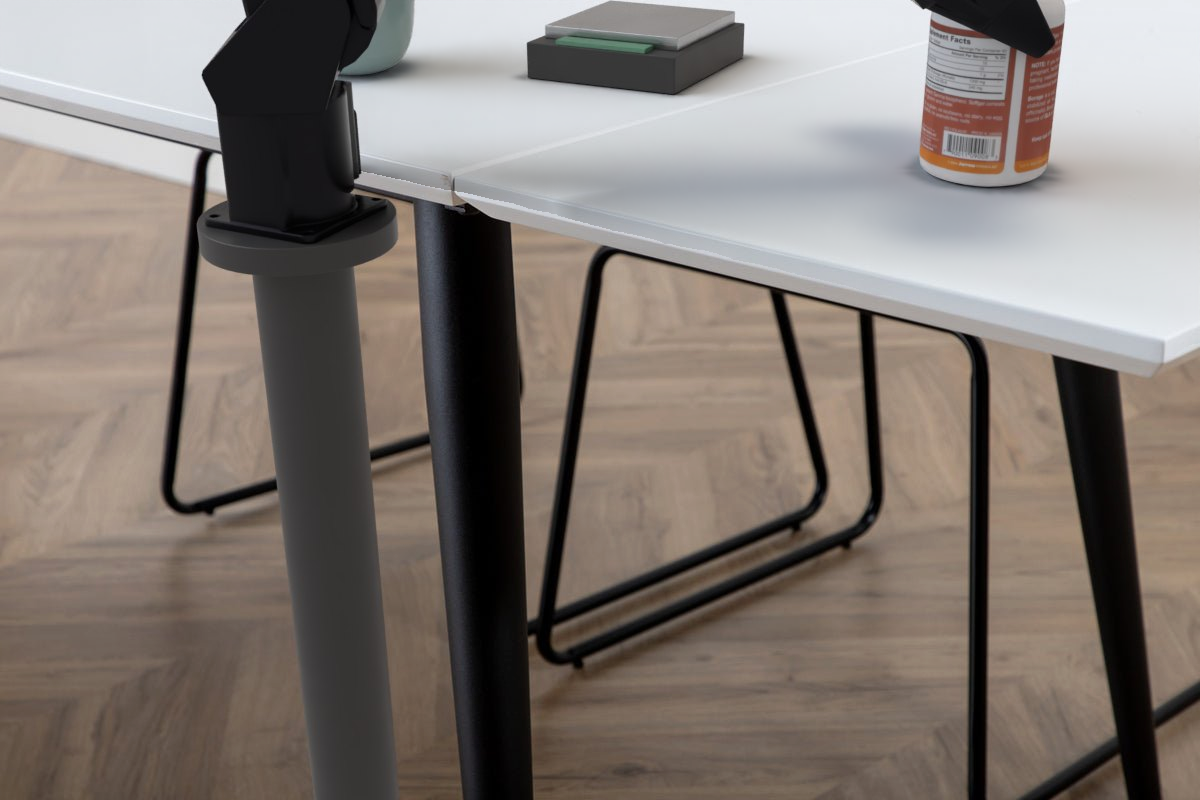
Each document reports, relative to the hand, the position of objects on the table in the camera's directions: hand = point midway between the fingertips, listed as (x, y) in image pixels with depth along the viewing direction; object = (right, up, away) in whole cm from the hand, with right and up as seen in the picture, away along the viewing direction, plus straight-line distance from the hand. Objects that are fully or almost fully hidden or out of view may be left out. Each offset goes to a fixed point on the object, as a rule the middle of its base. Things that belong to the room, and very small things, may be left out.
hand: (1024, 36), depth 69 cm
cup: (-36, +4, +24) cm, 43 cm away
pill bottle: (-1, -6, +3) cm, 7 cm away
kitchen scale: (-18, +4, +24) cm, 30 cm away
